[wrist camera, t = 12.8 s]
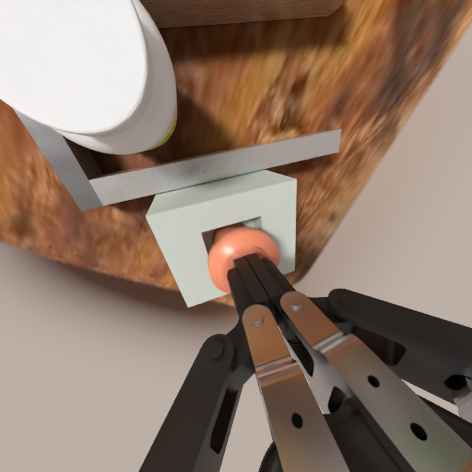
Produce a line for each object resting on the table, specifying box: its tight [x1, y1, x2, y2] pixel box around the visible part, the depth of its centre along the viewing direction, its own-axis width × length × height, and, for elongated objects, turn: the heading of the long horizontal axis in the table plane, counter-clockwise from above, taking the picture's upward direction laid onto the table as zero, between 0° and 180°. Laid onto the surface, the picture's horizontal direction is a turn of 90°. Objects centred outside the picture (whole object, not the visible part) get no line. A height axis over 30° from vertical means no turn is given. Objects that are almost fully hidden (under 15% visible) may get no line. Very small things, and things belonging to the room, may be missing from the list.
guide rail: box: [13, 0, 347, 211], centre depth 13 cm, size 24×12×3 cm, turn 99°
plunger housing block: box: [146, 169, 297, 307], centre depth 17 cm, size 10×9×8 cm
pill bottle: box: [0, 0, 177, 155], centre depth 9 cm, size 6×6×11 cm
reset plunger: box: [207, 222, 280, 294], centre depth 13 cm, size 5×5×4 cm
